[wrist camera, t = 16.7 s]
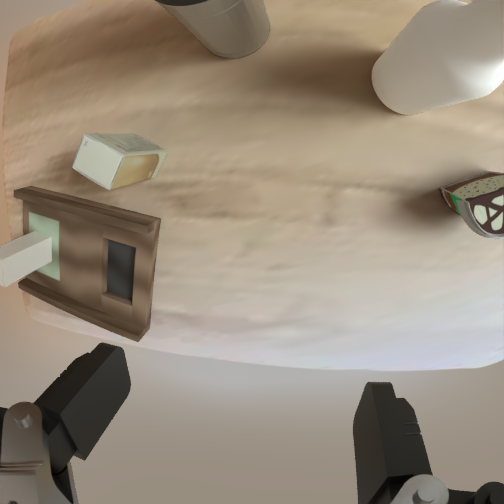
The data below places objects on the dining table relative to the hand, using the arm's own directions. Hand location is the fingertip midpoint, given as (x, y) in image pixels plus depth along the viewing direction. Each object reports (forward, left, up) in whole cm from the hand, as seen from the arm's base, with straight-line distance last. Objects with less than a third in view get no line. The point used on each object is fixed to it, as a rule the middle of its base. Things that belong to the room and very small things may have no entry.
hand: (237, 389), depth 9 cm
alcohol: (-18, +14, -33) cm, 40 cm away
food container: (-4, +26, -33) cm, 42 cm away
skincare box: (-6, -20, -33) cm, 39 cm away
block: (+8, -41, -31) cm, 52 cm away
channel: (+10, -32, -33) cm, 47 cm away
